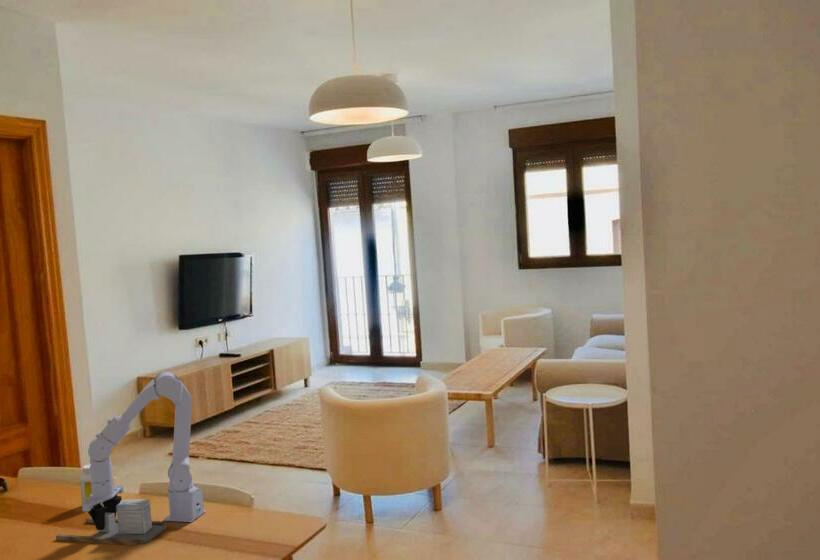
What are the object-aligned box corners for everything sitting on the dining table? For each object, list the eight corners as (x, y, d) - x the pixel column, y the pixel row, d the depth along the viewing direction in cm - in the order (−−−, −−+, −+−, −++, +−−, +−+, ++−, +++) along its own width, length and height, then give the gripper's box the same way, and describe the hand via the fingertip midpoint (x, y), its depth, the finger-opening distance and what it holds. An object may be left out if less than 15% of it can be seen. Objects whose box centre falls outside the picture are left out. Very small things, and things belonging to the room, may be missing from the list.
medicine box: (152, 528, 185) (150, 498, 184) (144, 534, 180) (142, 504, 180) (126, 528, 186) (124, 498, 185) (118, 535, 181) (115, 505, 181)
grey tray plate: (166, 528, 186) (165, 510, 185) (146, 542, 177) (145, 524, 177) (111, 525, 190) (110, 507, 190) (89, 539, 181) (88, 520, 181)
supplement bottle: (109, 502, 208) (106, 464, 208) (89, 510, 203) (86, 470, 202) (97, 499, 212) (94, 461, 211) (78, 506, 206) (74, 467, 206)
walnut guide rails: (163, 525, 188) (163, 521, 188) (135, 545, 176) (135, 541, 176) (88, 521, 194) (88, 517, 194) (56, 540, 182) (55, 535, 182)
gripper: (107, 470, 193) (111, 514, 193) (71, 488, 179) (75, 536, 179) (128, 471, 191) (131, 516, 192) (93, 489, 177) (96, 537, 177)
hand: (105, 526), depth 185 cm, fingers open, 4 cm apart
